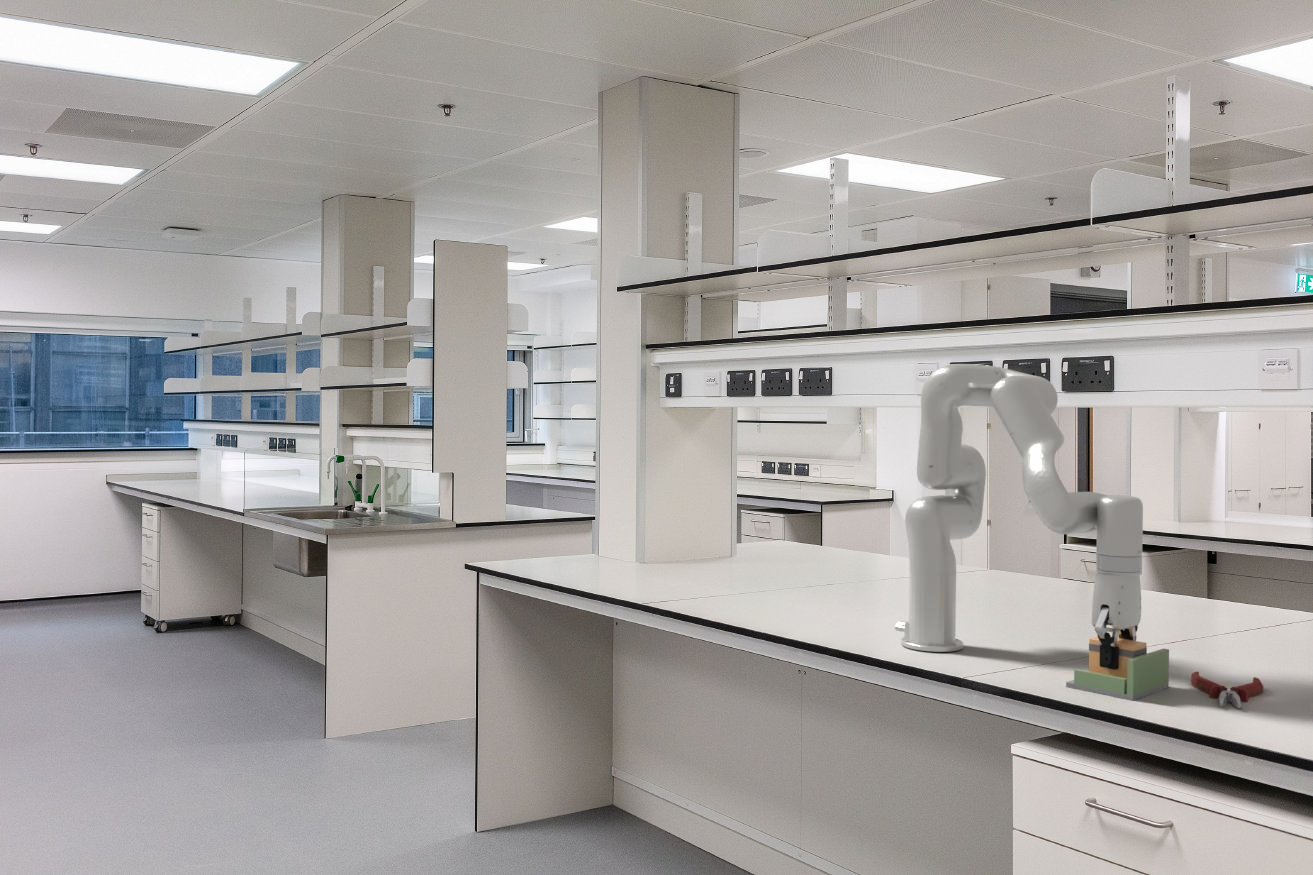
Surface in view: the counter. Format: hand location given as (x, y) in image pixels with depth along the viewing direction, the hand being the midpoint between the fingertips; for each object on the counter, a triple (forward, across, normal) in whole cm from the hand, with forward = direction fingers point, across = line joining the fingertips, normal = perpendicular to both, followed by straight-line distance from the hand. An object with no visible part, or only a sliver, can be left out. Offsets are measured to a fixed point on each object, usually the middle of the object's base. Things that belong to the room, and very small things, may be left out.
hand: (1117, 664), depth 189 cm
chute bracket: (+4, 0, 0) cm, 4 cm away
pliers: (+5, -9, +14) cm, 17 cm away
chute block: (+3, 0, 0) cm, 3 cm away
